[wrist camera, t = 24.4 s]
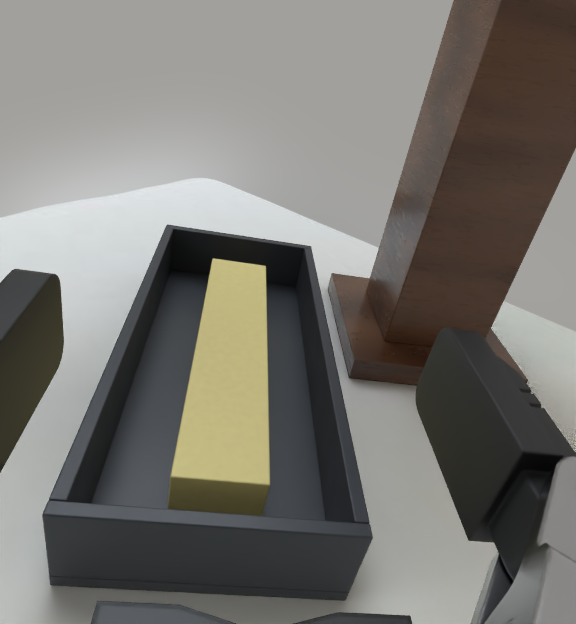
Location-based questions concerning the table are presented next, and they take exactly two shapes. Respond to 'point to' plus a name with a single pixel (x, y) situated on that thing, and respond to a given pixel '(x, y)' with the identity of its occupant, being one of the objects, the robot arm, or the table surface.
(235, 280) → the butter
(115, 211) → the table surface
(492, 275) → the shelf stand
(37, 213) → the table surface
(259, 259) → the pan
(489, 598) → the robot arm
